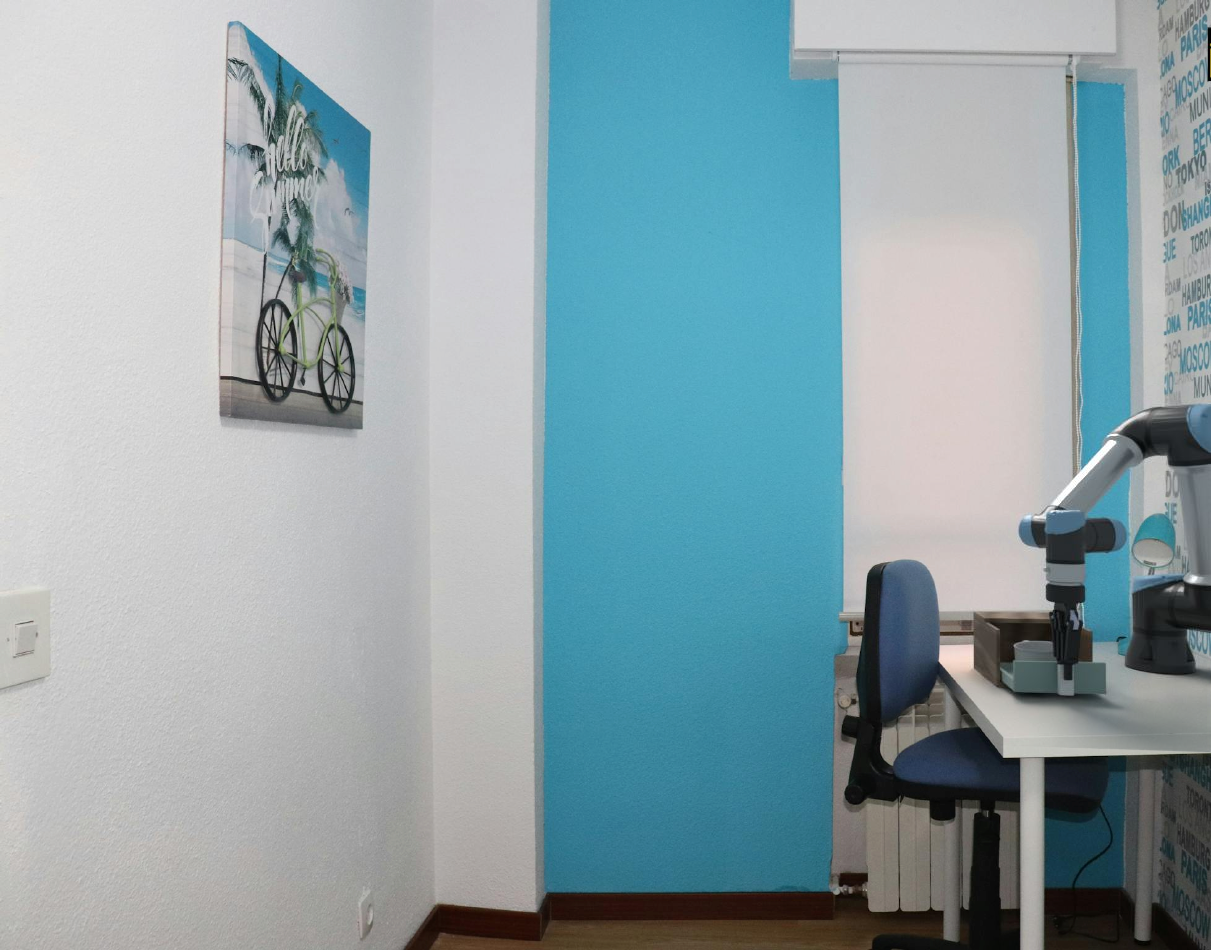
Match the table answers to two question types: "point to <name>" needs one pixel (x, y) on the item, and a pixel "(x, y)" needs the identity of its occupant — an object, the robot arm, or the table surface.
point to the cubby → (1014, 639)
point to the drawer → (1052, 676)
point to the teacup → (1034, 651)
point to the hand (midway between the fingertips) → (1065, 694)
